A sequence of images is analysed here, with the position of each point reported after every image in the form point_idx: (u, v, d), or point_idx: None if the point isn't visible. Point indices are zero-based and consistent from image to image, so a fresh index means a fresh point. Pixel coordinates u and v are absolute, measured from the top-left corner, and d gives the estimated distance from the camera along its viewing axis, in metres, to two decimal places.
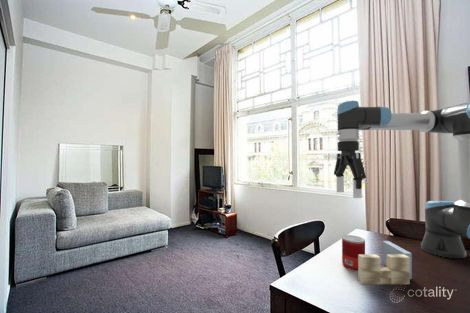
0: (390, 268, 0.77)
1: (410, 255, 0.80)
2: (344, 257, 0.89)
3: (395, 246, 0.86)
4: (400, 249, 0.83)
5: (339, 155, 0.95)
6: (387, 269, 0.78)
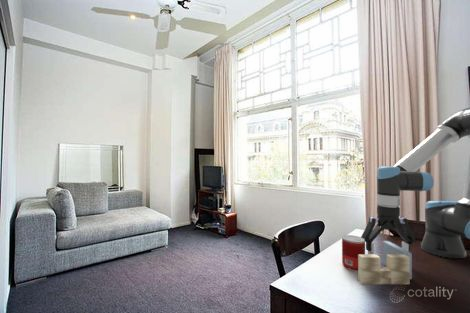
0: (390, 268, 0.77)
1: (410, 255, 0.80)
2: (344, 257, 0.89)
3: (395, 246, 0.86)
4: (400, 249, 0.83)
5: None
6: (387, 269, 0.78)
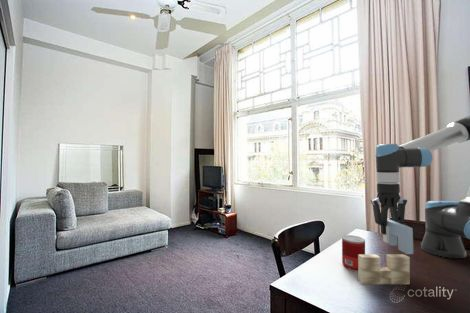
0: (390, 268, 0.77)
1: (411, 230, 0.80)
2: (344, 257, 0.89)
3: (396, 223, 0.86)
4: (400, 225, 0.83)
5: None
6: (387, 269, 0.78)
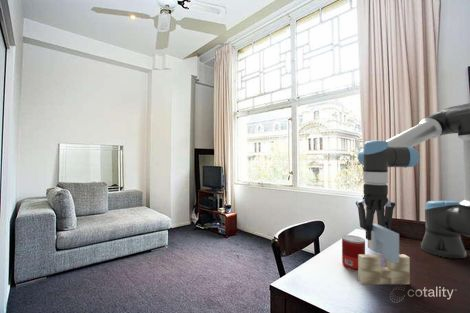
0: (390, 268, 0.77)
1: (397, 236, 0.72)
2: (344, 257, 0.89)
3: (382, 227, 0.78)
4: (386, 230, 0.75)
5: None
6: (387, 269, 0.78)
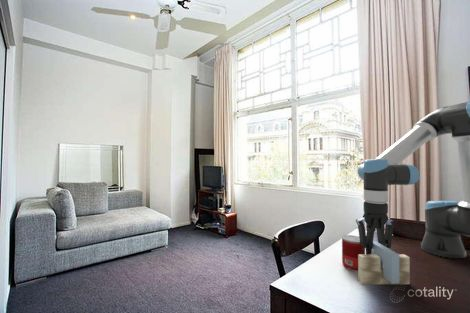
0: None
1: (398, 257, 0.72)
2: (344, 257, 0.89)
3: (382, 247, 0.78)
4: (387, 250, 0.75)
5: None
6: None
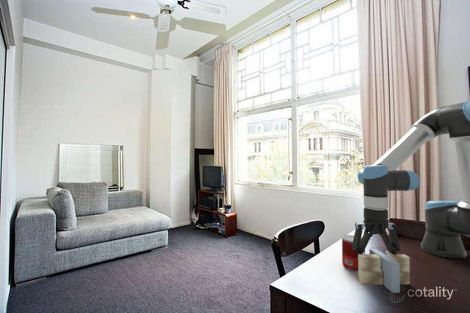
0: None
1: (398, 266, 0.72)
2: (344, 257, 0.89)
3: (382, 255, 0.78)
4: (387, 259, 0.75)
5: None
6: None
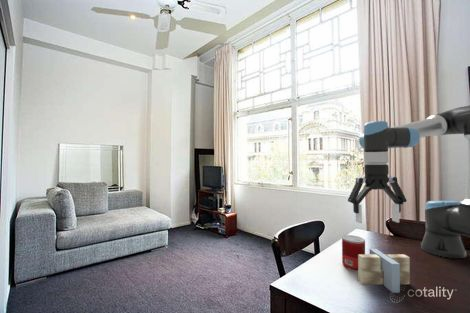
0: None
1: (398, 266, 0.72)
2: (344, 257, 0.89)
3: (382, 255, 0.78)
4: (387, 259, 0.75)
5: None
6: None
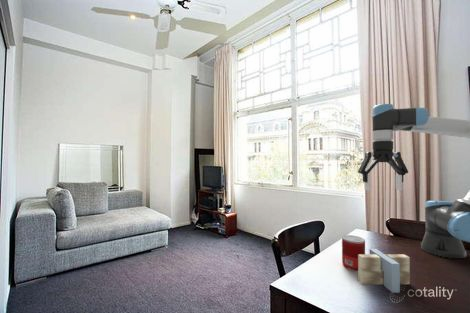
0: None
1: (398, 266, 0.72)
2: (344, 257, 0.89)
3: (382, 255, 0.78)
4: (387, 259, 0.75)
5: None
6: None
